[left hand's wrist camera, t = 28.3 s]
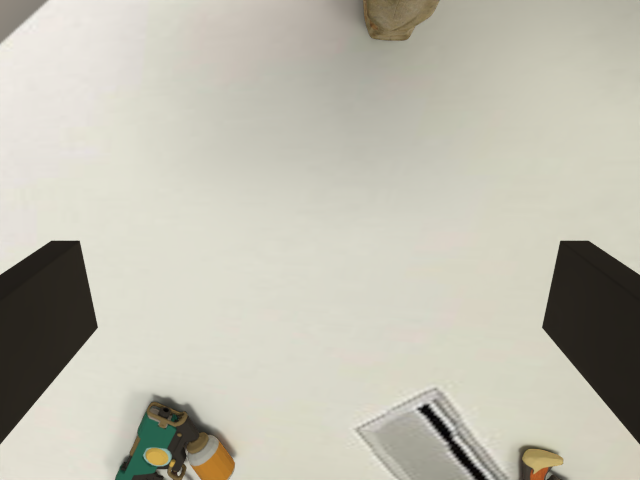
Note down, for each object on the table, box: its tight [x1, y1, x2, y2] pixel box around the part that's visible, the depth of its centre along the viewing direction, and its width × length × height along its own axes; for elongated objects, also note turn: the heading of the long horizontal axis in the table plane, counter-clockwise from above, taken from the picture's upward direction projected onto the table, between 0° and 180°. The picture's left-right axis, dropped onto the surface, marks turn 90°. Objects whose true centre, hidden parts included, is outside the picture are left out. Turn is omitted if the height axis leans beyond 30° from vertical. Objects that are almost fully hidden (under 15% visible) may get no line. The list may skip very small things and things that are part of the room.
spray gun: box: [115, 402, 235, 480], centre depth 57 cm, size 4×17×15 cm
